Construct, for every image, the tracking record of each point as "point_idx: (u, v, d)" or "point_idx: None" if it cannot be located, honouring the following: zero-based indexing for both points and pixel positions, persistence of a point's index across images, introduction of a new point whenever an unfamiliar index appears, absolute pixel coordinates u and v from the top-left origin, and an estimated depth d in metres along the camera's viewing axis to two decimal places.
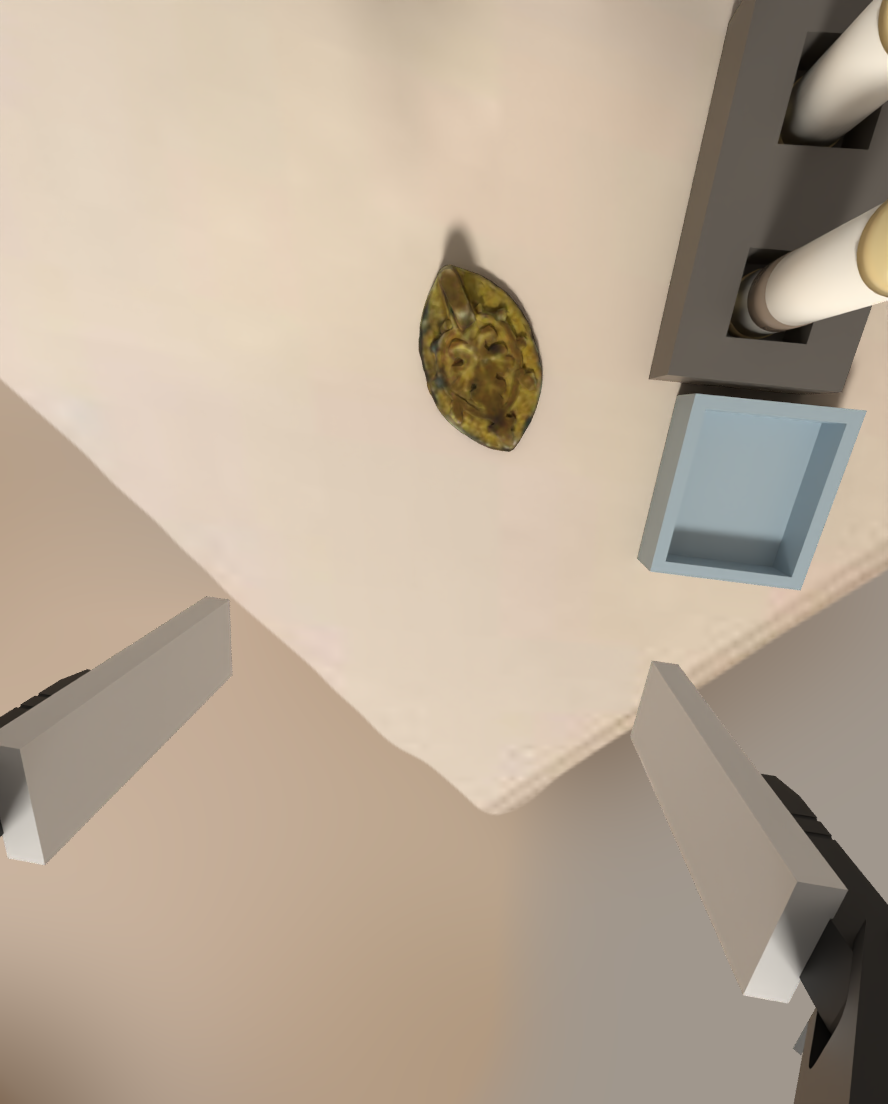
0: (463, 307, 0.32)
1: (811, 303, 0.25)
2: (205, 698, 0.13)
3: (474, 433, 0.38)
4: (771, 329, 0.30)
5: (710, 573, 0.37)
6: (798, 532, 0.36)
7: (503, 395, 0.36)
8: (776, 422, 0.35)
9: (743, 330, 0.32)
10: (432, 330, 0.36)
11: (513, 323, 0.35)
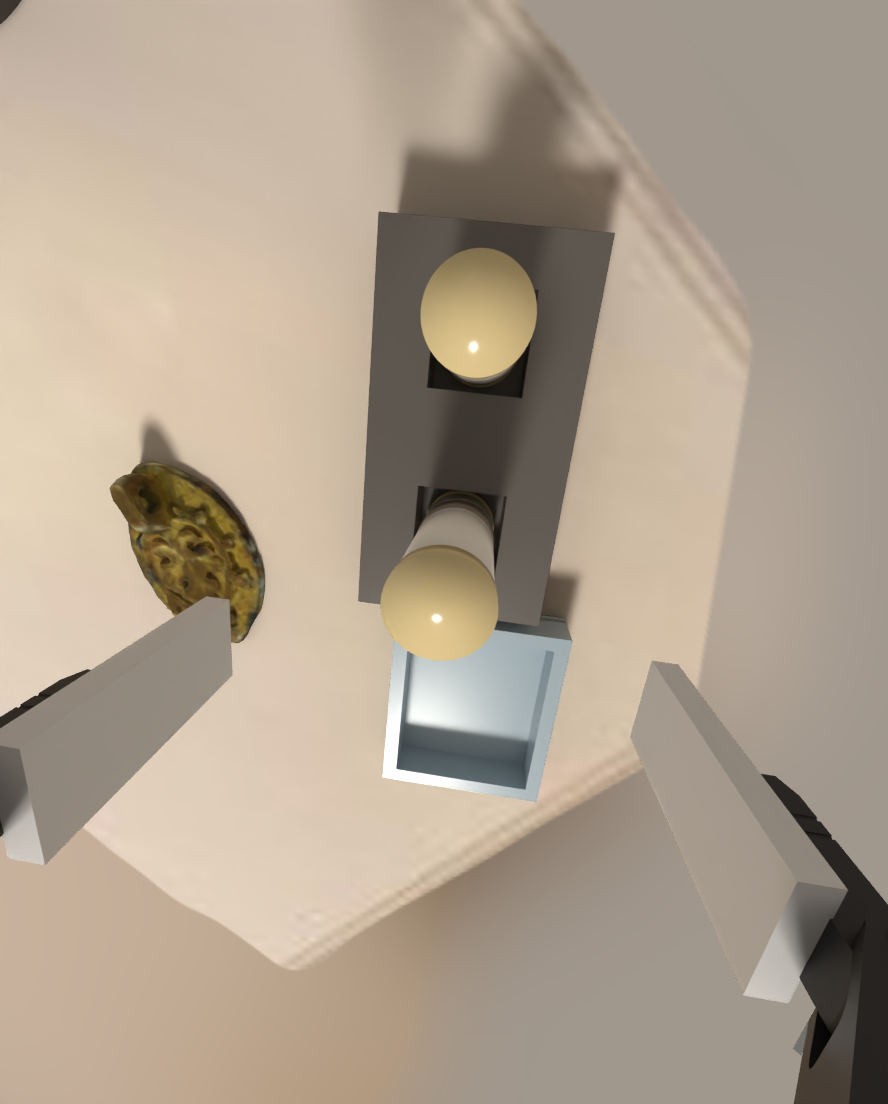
0: (138, 523, 0.30)
1: None
2: (205, 699, 0.13)
3: None
4: None
5: (443, 782, 0.35)
6: (532, 743, 0.34)
7: (218, 593, 0.34)
8: None
9: None
10: None
11: (218, 524, 0.32)
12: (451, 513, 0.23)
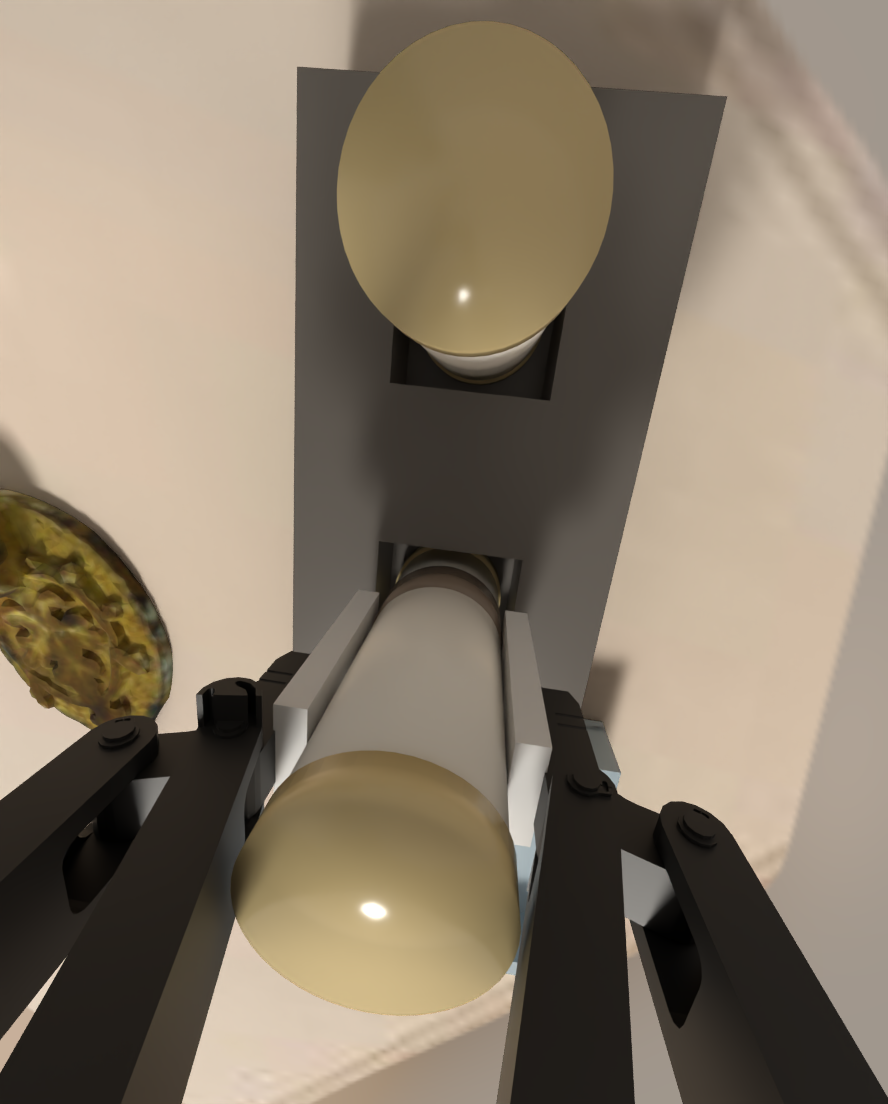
0: None
1: None
2: None
3: (77, 718, 0.25)
4: None
5: None
6: None
7: (101, 678, 0.23)
8: None
9: None
10: None
11: (97, 581, 0.22)
12: (426, 606, 0.13)
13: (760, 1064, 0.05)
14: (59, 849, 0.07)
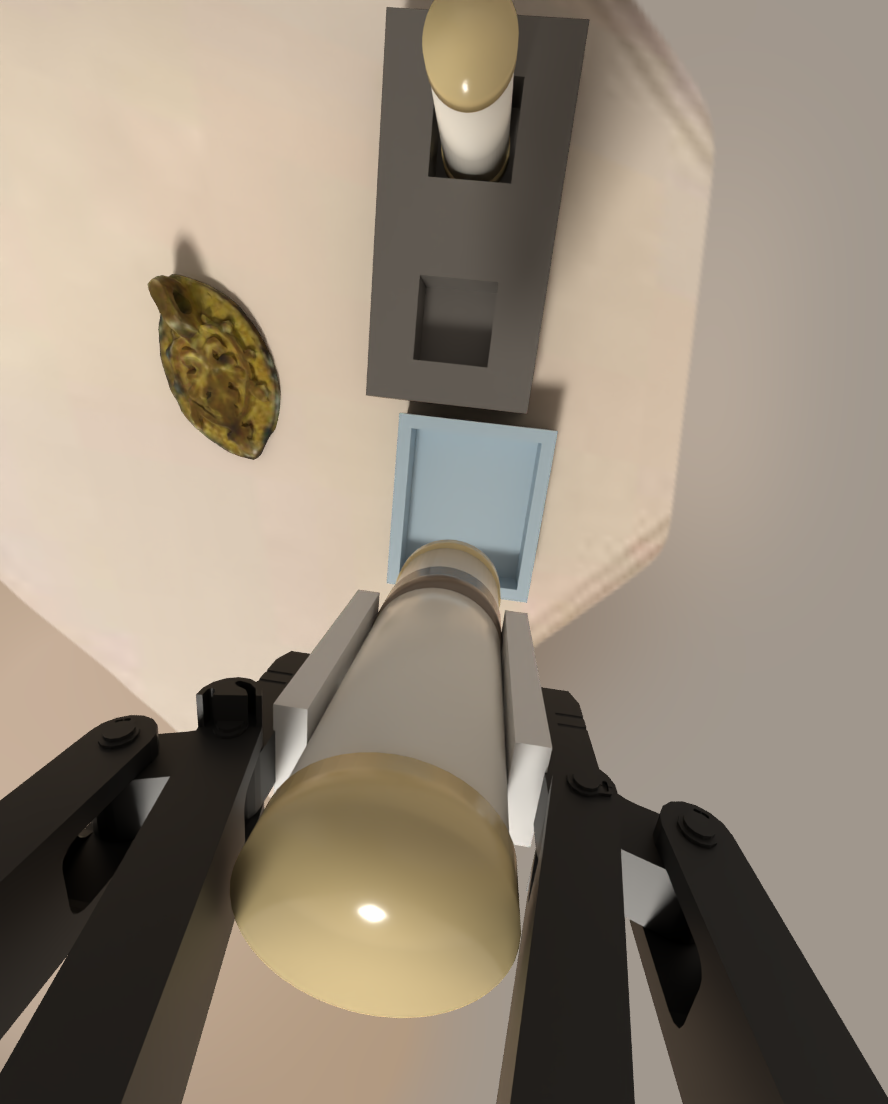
0: (172, 317, 0.33)
1: None
2: None
3: (217, 439, 0.39)
4: None
5: None
6: (522, 546, 0.37)
7: (237, 405, 0.37)
8: (496, 440, 0.36)
9: None
10: (167, 337, 0.36)
11: (241, 335, 0.36)
12: (426, 607, 0.13)
13: (760, 1064, 0.05)
14: (59, 849, 0.07)
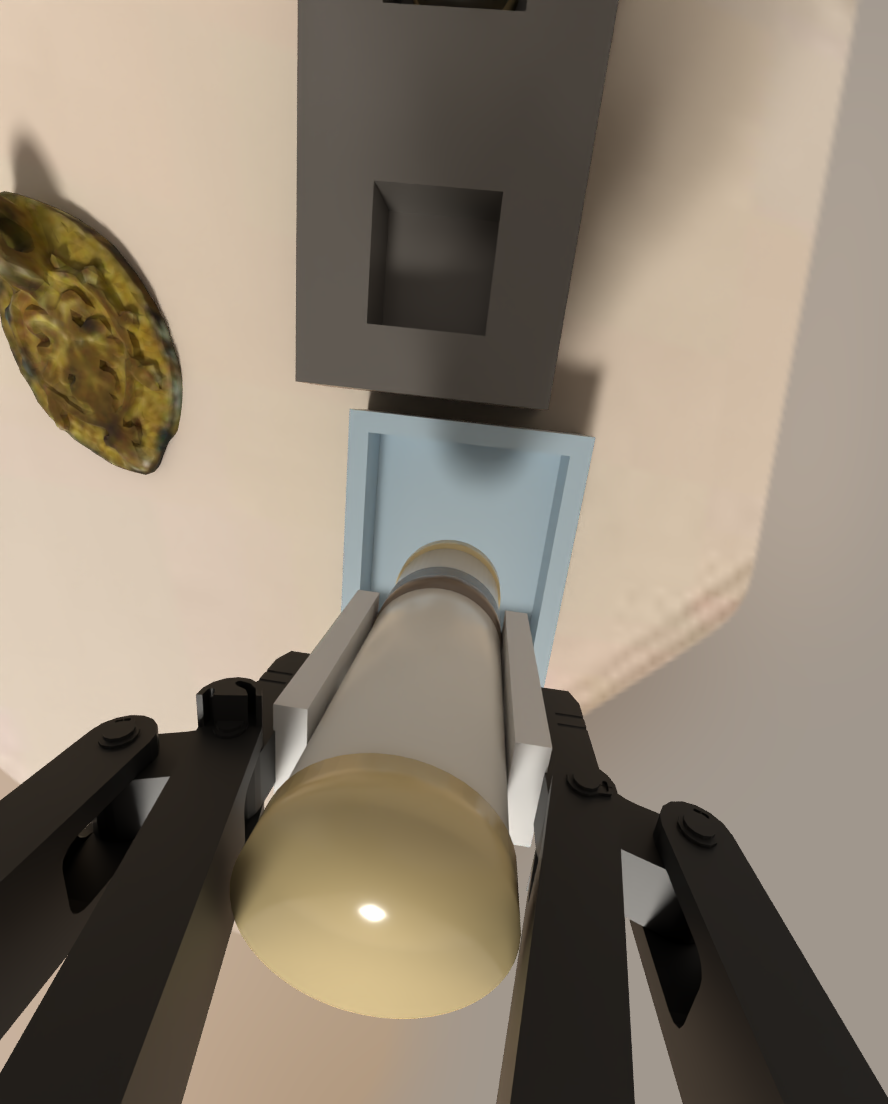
0: None
1: None
2: None
3: (91, 445, 0.27)
4: None
5: None
6: (537, 606, 0.25)
7: (116, 394, 0.25)
8: (499, 449, 0.24)
9: None
10: (6, 290, 0.24)
11: (116, 290, 0.24)
12: (426, 607, 0.13)
13: (760, 1064, 0.05)
14: (59, 850, 0.07)
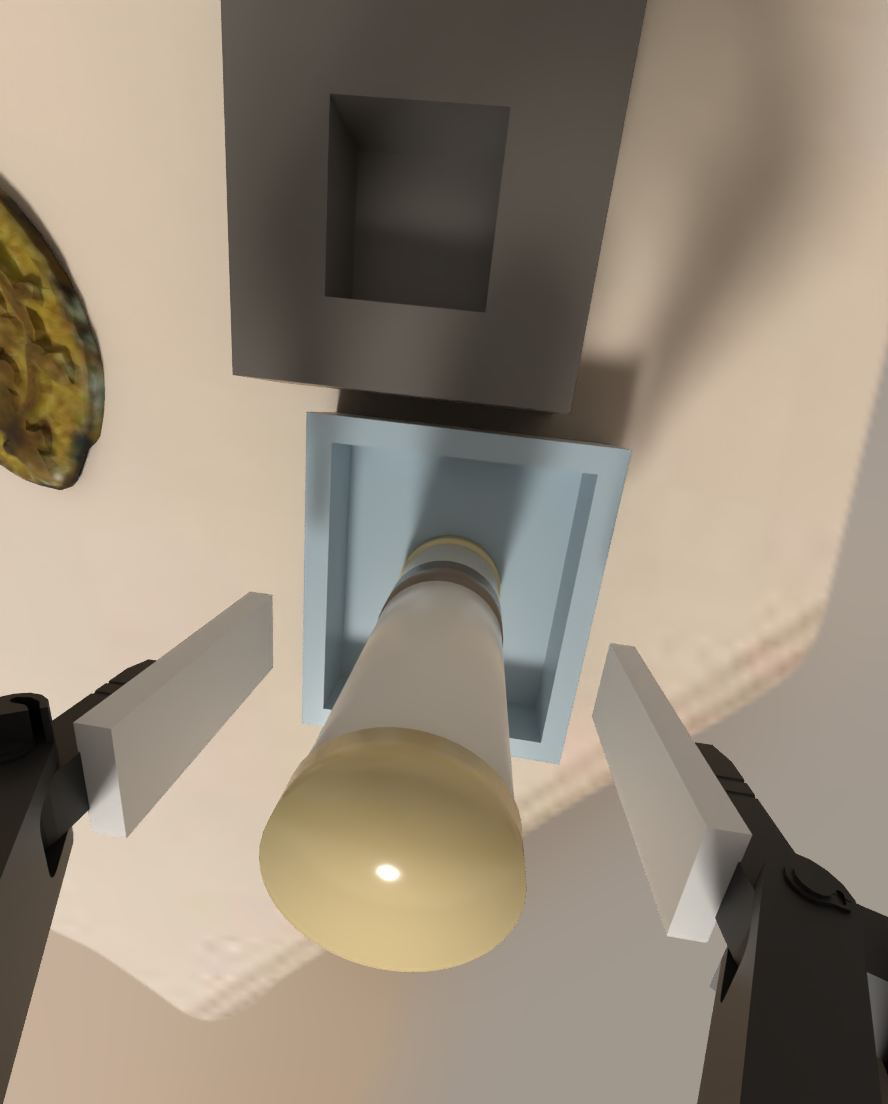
0: None
1: None
2: (250, 689, 0.14)
3: None
4: None
5: None
6: (552, 662, 0.20)
7: (16, 389, 0.20)
8: (503, 464, 0.19)
9: None
10: None
11: (12, 255, 0.18)
12: (431, 598, 0.14)
13: None
14: None
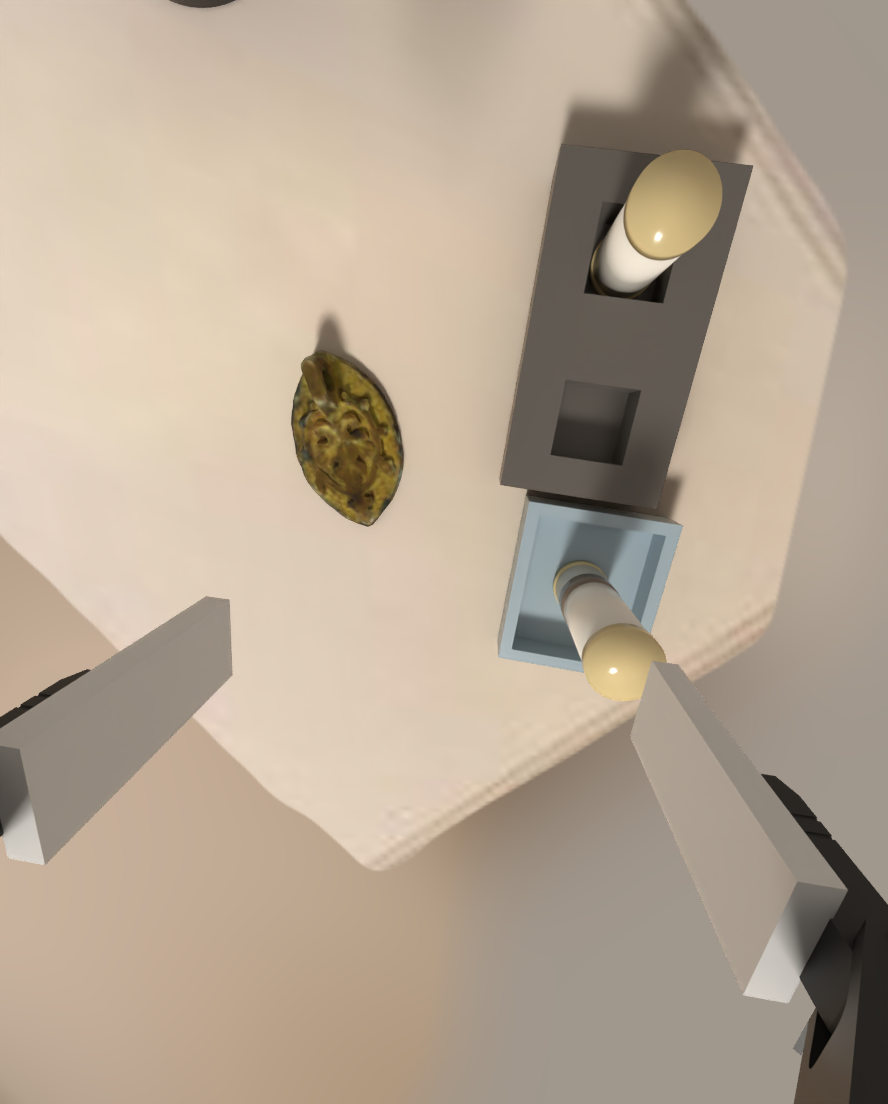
0: (321, 396, 0.35)
1: None
2: (205, 699, 0.13)
3: (335, 505, 0.40)
4: None
5: (553, 662, 0.39)
6: None
7: (363, 476, 0.38)
8: None
9: None
10: (302, 406, 0.38)
11: (376, 413, 0.37)
12: (600, 589, 0.32)
13: None
14: None
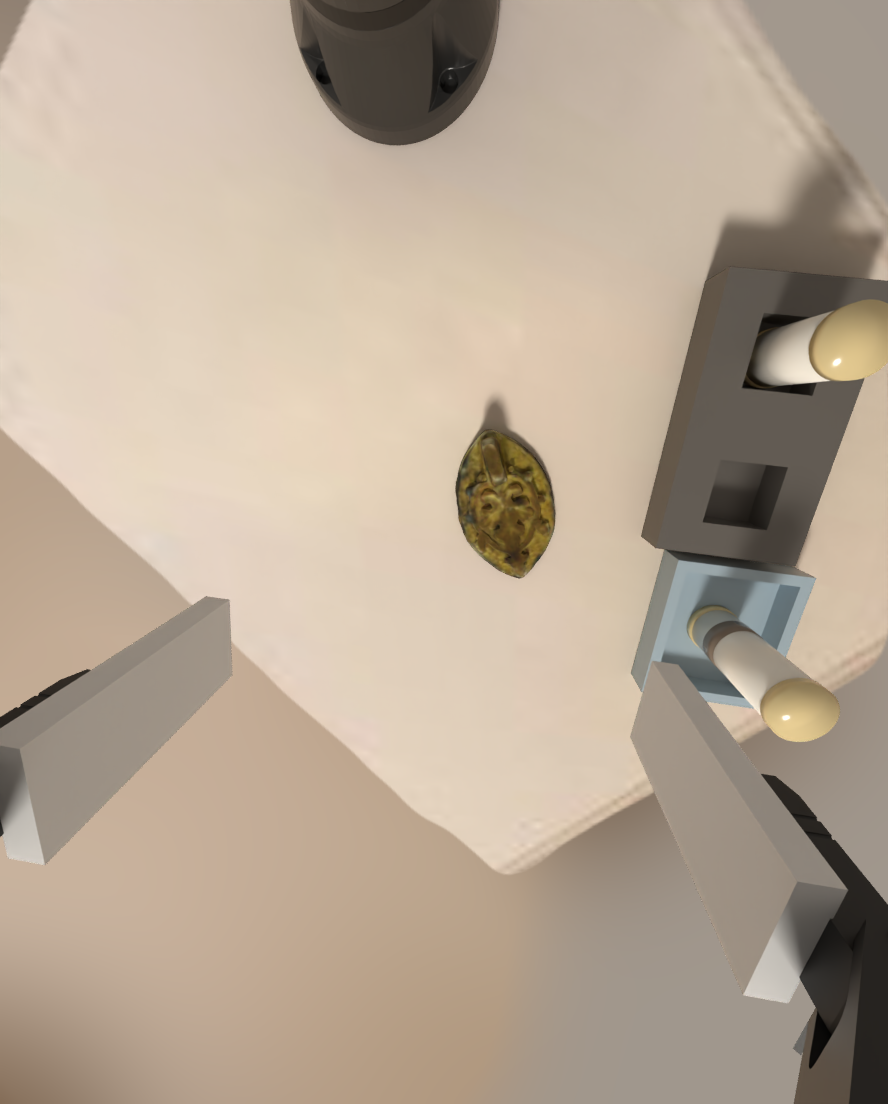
0: (499, 475, 0.39)
1: None
2: (205, 698, 0.13)
3: (492, 561, 0.45)
4: None
5: None
6: None
7: (521, 536, 0.44)
8: None
9: None
10: (469, 477, 0.43)
11: (536, 482, 0.42)
12: (753, 639, 0.37)
13: None
14: None
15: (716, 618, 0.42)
